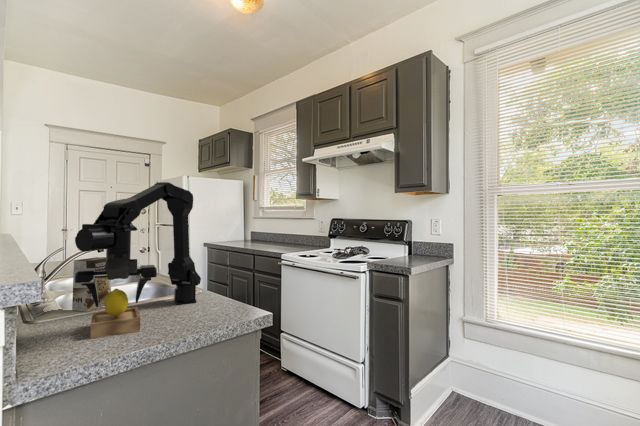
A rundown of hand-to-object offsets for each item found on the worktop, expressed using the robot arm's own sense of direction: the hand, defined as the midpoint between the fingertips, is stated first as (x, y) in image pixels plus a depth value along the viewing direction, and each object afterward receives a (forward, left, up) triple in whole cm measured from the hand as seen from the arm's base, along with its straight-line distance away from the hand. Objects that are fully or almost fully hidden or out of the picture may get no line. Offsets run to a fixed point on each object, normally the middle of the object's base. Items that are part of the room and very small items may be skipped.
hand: (117, 304), depth 92 cm
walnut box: (0, 0, -7) cm, 7 cm away
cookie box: (+7, -26, -7) cm, 28 cm away
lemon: (0, 0, -4) cm, 4 cm away
